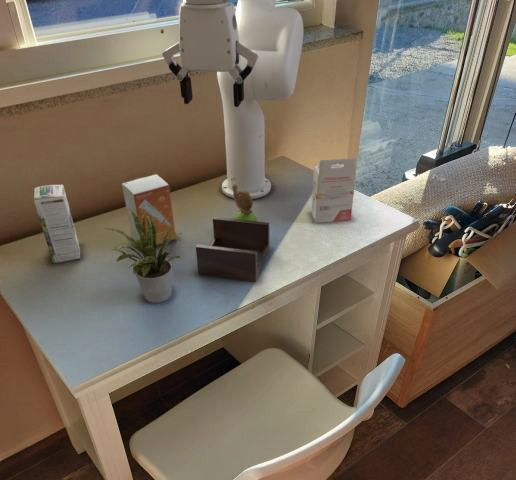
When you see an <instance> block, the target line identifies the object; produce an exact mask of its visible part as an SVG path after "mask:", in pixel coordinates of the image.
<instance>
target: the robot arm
mask: <svg viewBox="0 0 516 480" xmlns="http://www.w3.org/2000/svg"><path fill="white" fill-rule="evenodd" d="M276 4H277V0H237V5H236V9H235V4H234V3H233V2H230V1H229V0H182V2H181V3H180V5H179V14H178V42H177V43H175V44H174V45H172V46H170V47H168V48H167V49H165V50H164V51H162V57H163V59H164V61H165V63H166V64H167V65H168V69H169V71H171V72H172V74H173V75H174V76H175V77H176V79H177V81H179V86H180V87H179V89H180V96H181V98H182V99H183V103H184V105H188V104H190V103H191V102H192V100H193V86H192V78H191V76H189V73H190V72H191V71H195V72H196V71H197V72H212V73H213V72H214V73H215V72H216V77H217V82H218V87H219V92H220V97H221V102H222V103H221V104H222V112H223V125H224V127H223V128H224V140H225V142H224V143H225V162H226V177H227V178H226V179H224V181H223V182H222V183H221V192H222V193H223V194H224V195H225V196H227V197H229V198H232V199H234V195H233V189H232V184H233V183H234V179H233V181H231V178H234V177H235V178H236V179H235V183H236V184H237V185H238V193H239V191H241V190H246V191H248V192H249V194H250V195H251V197H252V200H255V199H259V198H263V197H265V196H266V195H267V194H269V193H270V192H271V190H272V183H271V181H270V180H269V178H267V177H266V137H265V135H266V125H265V124H266V123H265V115H264V112H263V110H262V108H261V106H260V104H259V103H258V101H257V100H259V101H260V100H261V101H262V100H263V101H278V102H279V101H287V100H289V99H290V98H291V97H292V96H293V94H294V91H295V89H296V84H297V78H298V73H299V66H300V61H301V55H302V48H303V42H304V21H303V17H302V15H301V13H300V11H298V10H297V9H295V8H293V7H287V6H286V7H284V6H276ZM178 53H179V58H180V64H181V65H180V64H179V63H178V62H177V61H176V58H175V57H174V56H175V55H176V54H178Z"/></svg>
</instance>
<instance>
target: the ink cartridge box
mask: <svg viewBox="0 0 516 480" xmlns="http://www.w3.org/2000/svg"><path fill="white" fill-rule="evenodd" d="M356 166H357V159H356V158H355V157H351V158H333V159H324V160H323V159H322V160H320V161H319V163H318V165H314V166H313V174H312V175H313V177H312V178H313V179H312V193H311V194H312V195H311V197H312V198H311V215H312V217H313V220H314V222H315V223H316V224H320V223H330V222H345V221H351V220H352V214H353V213H352V212H353V204H354V195H355V194H354V193H355V186H356V176H357V172H356V168H357V167H356Z"/></svg>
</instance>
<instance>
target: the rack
mask: <svg viewBox="0 0 516 480" xmlns="http://www.w3.org/2000/svg"><path fill="white" fill-rule="evenodd" d="M212 228H213V229H212V230H213V239H212V240H211V242H210V244H209V245H207V244H206V245H205V244H198V243H197V244H196V246H195V254H196V265H197V272H198V276H199V275H200V276H208V277H215V278H222V279H228V280H229V279H230V280H237V281H238V280H239V281H245V282H254V283H257V281H258V278H259V276H260V273H261V271H262V268H263V266H264V263H265V261H266V259H267V256H268V254H269V251H270V222H268V221H258V220H257V221H249V220H240V219H234V218H230V217H229V218H228V217H220V216H213V217H212ZM258 252H261V254H260V256H259V258H258V256H257V255H258ZM257 260H258V261H257Z"/></svg>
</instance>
